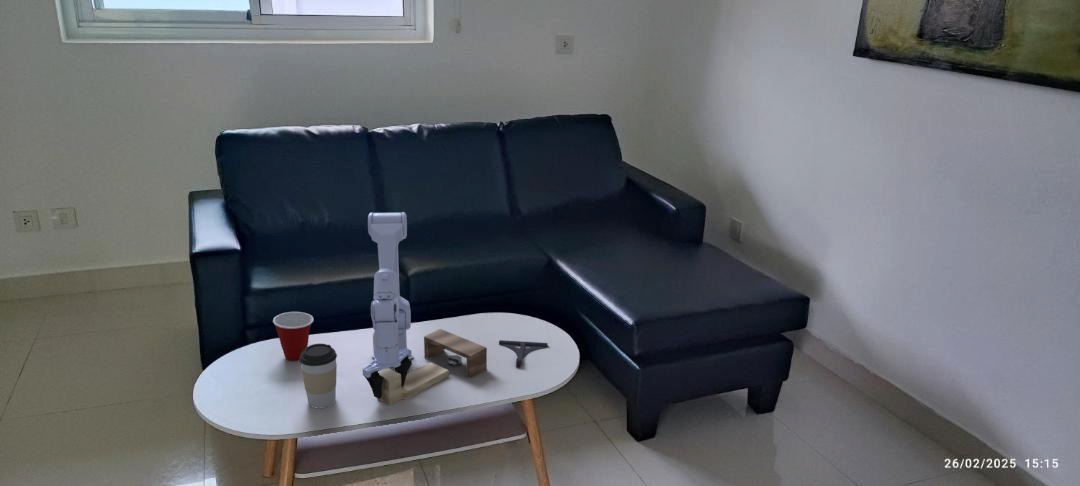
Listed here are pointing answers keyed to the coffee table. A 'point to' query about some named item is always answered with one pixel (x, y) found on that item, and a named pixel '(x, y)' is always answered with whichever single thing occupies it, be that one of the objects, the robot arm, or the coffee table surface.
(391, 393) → the oak l-shaped block
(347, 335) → the coffee table surface
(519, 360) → the bracket
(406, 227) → the robot arm
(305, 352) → the coffee cup
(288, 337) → the plastic cup
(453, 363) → the steel puck
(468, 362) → the walnut shelf
